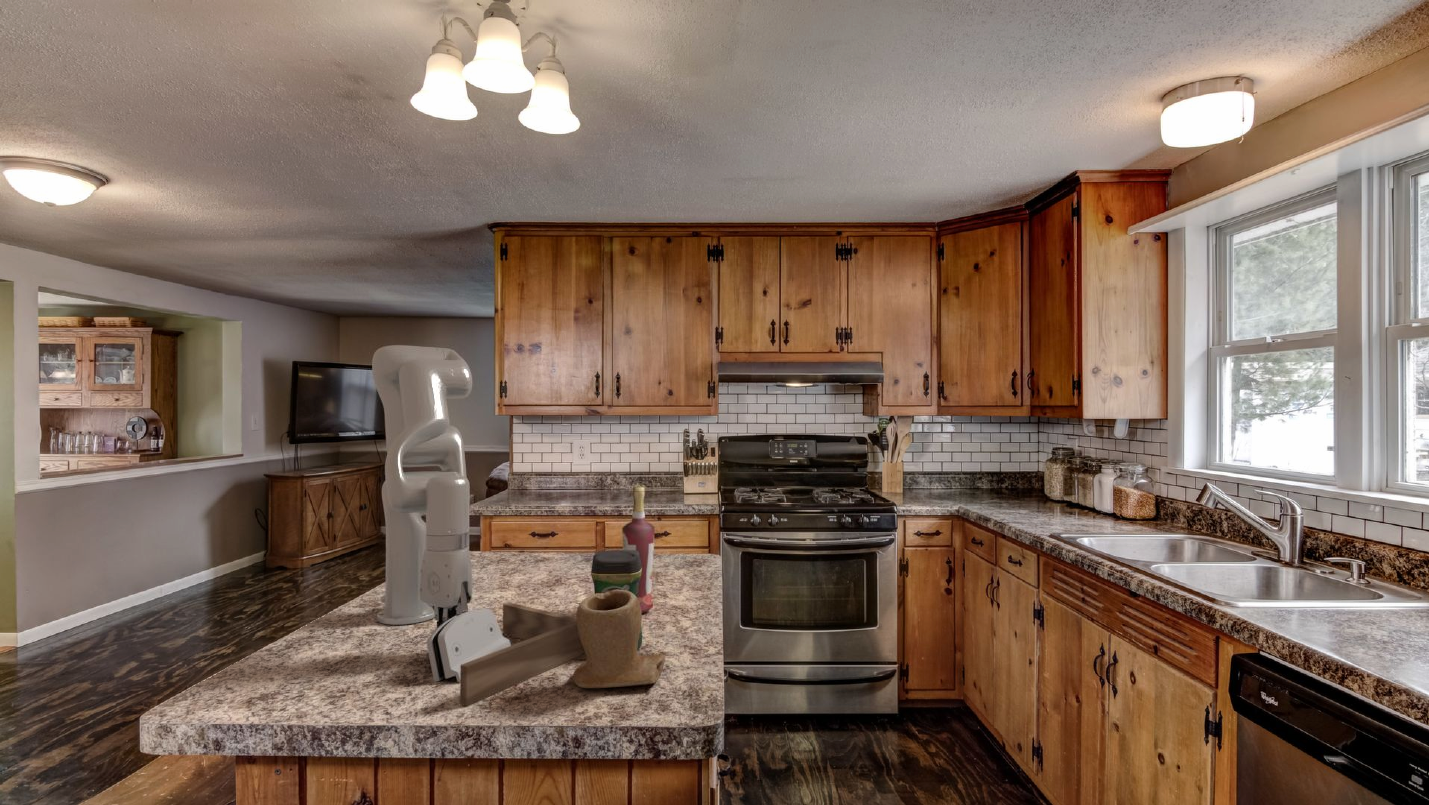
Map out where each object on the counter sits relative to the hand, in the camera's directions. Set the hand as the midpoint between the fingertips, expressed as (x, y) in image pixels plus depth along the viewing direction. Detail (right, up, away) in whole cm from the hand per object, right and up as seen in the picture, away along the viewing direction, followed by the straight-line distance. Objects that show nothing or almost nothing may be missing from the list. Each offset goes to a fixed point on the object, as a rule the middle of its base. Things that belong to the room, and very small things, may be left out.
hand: (446, 641), depth 119 cm
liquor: (+33, -3, +26) cm, 42 cm away
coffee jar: (+31, -3, +3) cm, 31 cm away
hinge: (+6, -3, -5) cm, 8 cm away
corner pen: (+10, -2, -5) cm, 11 cm away
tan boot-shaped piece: (+34, -2, -13) cm, 37 cm away
